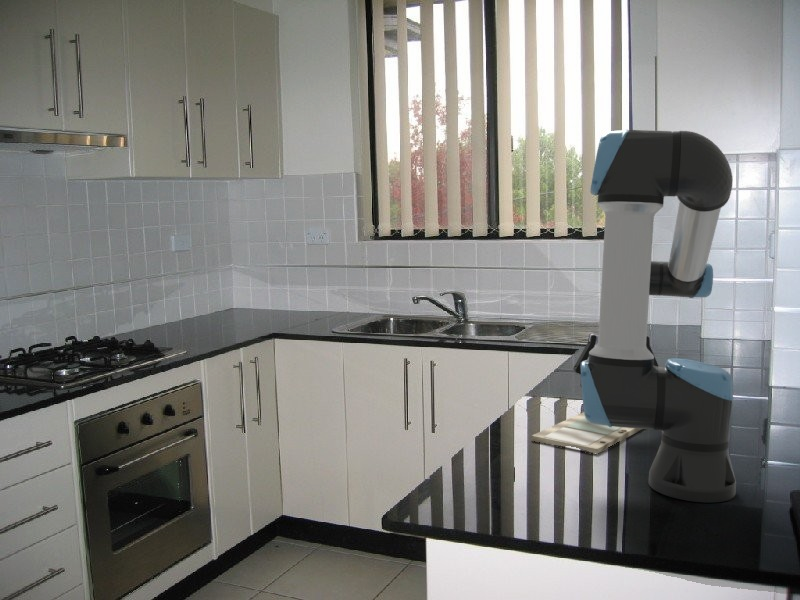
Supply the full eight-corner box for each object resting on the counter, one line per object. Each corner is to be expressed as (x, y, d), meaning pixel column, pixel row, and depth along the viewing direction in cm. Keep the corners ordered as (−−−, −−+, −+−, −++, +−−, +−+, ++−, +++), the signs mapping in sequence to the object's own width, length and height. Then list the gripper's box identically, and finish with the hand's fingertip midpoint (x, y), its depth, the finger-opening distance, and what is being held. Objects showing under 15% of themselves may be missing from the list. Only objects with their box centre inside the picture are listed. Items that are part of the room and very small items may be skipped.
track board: (596, 454, 173) (597, 448, 173) (531, 440, 182) (531, 435, 182) (655, 421, 201) (655, 416, 201) (596, 410, 210) (596, 405, 210)
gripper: (668, 313, 201) (662, 400, 203) (563, 310, 200) (559, 398, 203) (678, 318, 193) (672, 408, 196) (570, 315, 193) (565, 405, 195)
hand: (615, 403), depth 199 cm, fingers open, 13 cm apart
